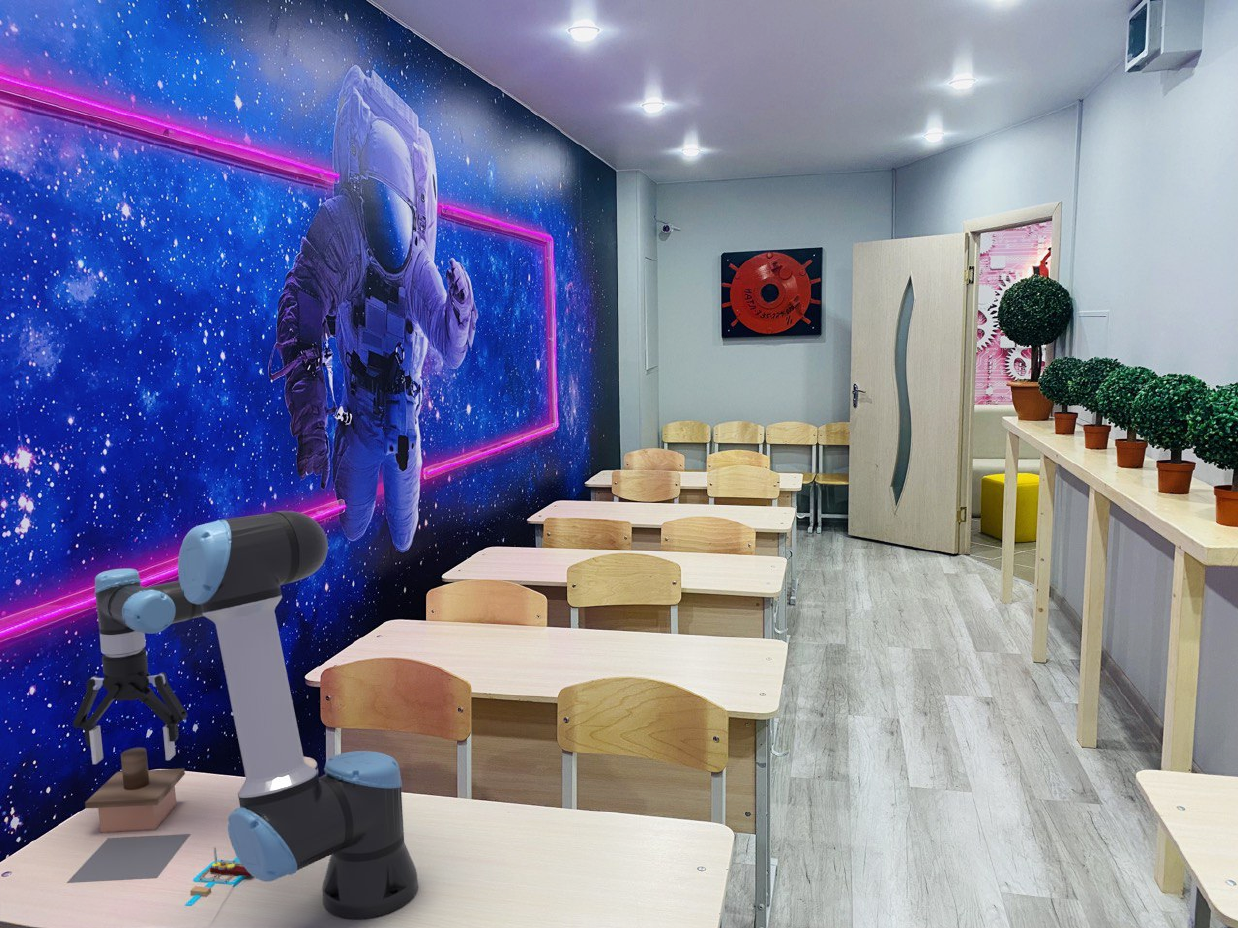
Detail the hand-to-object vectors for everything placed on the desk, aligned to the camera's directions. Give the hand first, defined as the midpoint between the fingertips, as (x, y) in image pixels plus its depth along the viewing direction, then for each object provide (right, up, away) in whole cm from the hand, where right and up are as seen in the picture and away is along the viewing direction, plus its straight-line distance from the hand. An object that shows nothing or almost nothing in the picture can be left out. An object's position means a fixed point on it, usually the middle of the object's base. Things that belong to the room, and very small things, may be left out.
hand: (134, 759), depth 185 cm
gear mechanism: (+26, -15, -19) cm, 35 cm away
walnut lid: (0, -6, +1) cm, 6 cm away
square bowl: (0, -12, +2) cm, 12 cm away
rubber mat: (+6, -14, -13) cm, 20 cm away
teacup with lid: (+30, -11, +5) cm, 32 cm away
